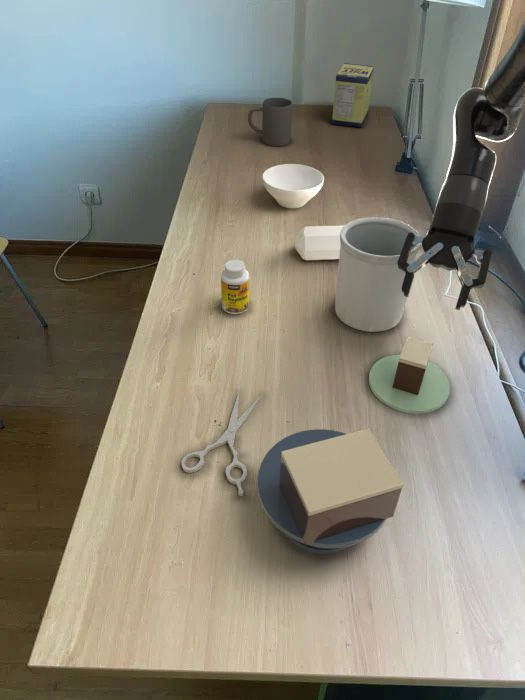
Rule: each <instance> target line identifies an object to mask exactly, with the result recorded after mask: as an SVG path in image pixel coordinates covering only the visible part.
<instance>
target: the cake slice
mask: <svg viewBox="0 0 525 700" xmlns="http://www.w3.org/2000/svg"><path fill="white" fill-rule="evenodd" d="M433 347H434V343H432V342H428V341H424V340H422V339H421V340H420V339H417V338H414V337H410V336H407V337H406V340H405V342H404V344H403V347H402V350H401V353H400V354H401V355H400V358H399V362H398V366H397V370H396V374H395V378H394V383H393V387H392V388H395V389H399V390H402V391H406V392H409V393H412V394H416V395H418V394H419V391H420V387H421V384H422V381H423V377H424V374H425V371H426V367H427V364H428V361H430V358H431V353H432V350H433Z"/></svg>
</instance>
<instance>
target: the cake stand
mask: <svg viewBox="0 0 525 700" xmlns="http://www.w3.org/2000/svg"><path fill="white" fill-rule="evenodd" d="M394 468H395V467H393V465H392V464H391V462H390V460H389V459H388V457H387V456H386V453H385V452H384V450H383V449H382V447H381V446H380V444H379V442H378V441H377V440H376V438H375V436H374V434H373V433H372V431H371V430H370V428H365V429H361V430H358V431H353V432H350V433H345V432H342V431H338V430H333V429H322V428H321V429H318V428H315V429H306V430H301V431H298V432H295V433H292V434H290V435H288V436H286V437H284V438H282V439H280V440H279V441H277V443H275V444H274V445H273V446H272V447H271V448H269V450H268V451H267V453H266V454H265V455H264V457H263V458H262V461H261V462H260V466H259V469H258V473H257V494H258V499H259V502H260V506H261V507H262V509H263V511H264V513H265V514H266V516H267V518H268V519H269V520H270V521H271V522H272V524H273V525H274V526H275V527H276V528H277V529H278V530H280V531H281V533H283V534H284V535H285V536H286V538H287V539H288V540H289V541H290V542H291V543H292V544H294V545H295V546H297V548H299V549H301V550H304V551H306V552H308V553H312V554H317V555H331V554H335V553H340V552H342V551H344V550H346V549H348V548H349V547H351V546H355V545H358V544H361V543H363V542H365V541H367V540H368V539H370V538H371V537H373V536H374V535H375V534H377V533H378V532H379V531H380V530H381V528H383V526H384V525H385V524H386V522H387V521H388V519H390V518H393V517H394V515H395V512H396V509H397V506H398V502H399V499H400V496H401V493H402V490H403V487H404V483H403V482H402V479H401V478H400V476H399V475H398V473H397V471H396V470H395V469H394Z"/></svg>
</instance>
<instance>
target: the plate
mask: <svg viewBox="0 0 525 700" xmlns="http://www.w3.org/2000/svg"><path fill="white" fill-rule="evenodd" d="M400 355H401V353H400V354H399V353H398V354H396V353H395V354H391V355H387V356H384V357H382V358H380V359H378V360H377V361H376V362H374V363H373V364H372V365H371V368H370V370H369V373H368V386H369V388H370V390H371V392H372V393H373V395H374V397H375V398H377V400H378V401H380V402H381V403H382V404H383V405H386V406H387V407H388V408H390V409H392V410H395V411H398V412H402V413H405V414H415V415H419V414H420V415H421V414H427V413H431V412H434V411H436V410H438V409H440V408H441V407H442V406H443V405H444V404H445V403H446V402H447V401H448V398H449V395H450V391H451V386H450V384H451V383H450V380H449V379H448V377H447V375H446V373H444V371H443V370H442V369H441V368H440V367H439V366H437V365H436V364H434V363H433V362H432V361H430V360H429V361H428V364H427V367H426V371H425V374H424V377H423V381H422V384H421V387H420V391H419V394H418V395H416V394H412V393H409V392H406V391H402V390H399V389H395V388H392V387H393V383H394V378H395V374H396V370H397V366H398V362H399V358H400Z"/></svg>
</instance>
